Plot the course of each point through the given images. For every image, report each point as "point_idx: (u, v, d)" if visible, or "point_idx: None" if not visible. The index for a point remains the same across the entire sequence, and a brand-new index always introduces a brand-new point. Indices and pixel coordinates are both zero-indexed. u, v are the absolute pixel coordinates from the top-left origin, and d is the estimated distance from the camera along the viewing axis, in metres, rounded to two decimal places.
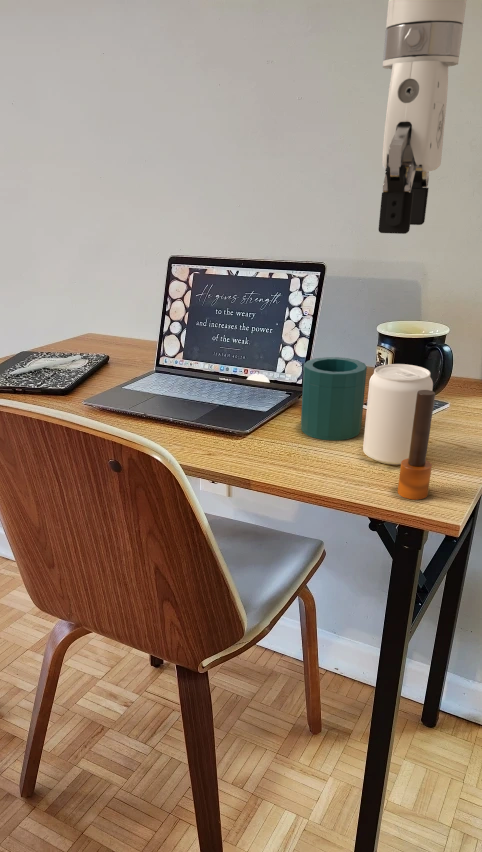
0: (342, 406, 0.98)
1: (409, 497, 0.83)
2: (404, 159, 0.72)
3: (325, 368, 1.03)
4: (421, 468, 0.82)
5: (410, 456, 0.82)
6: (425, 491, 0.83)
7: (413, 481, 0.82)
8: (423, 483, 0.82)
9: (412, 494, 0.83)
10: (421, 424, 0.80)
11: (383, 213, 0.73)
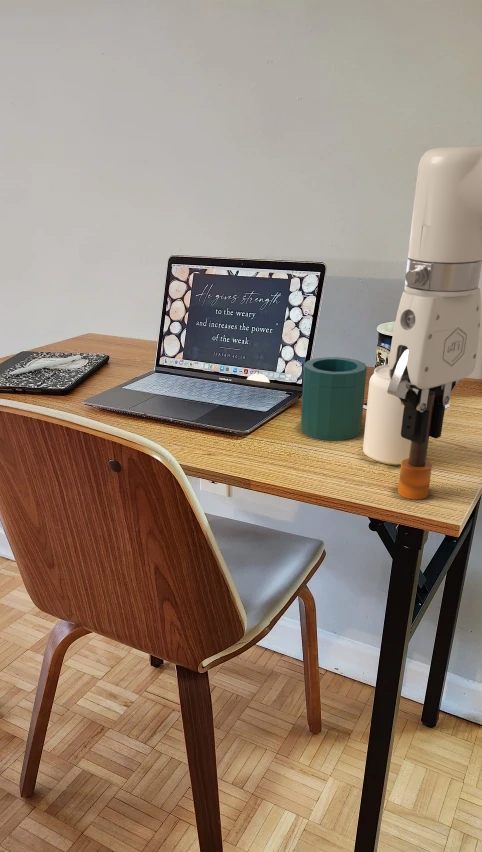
0: (342, 406, 0.98)
1: (409, 497, 0.83)
2: None
3: (325, 368, 1.03)
4: (421, 468, 0.82)
5: (410, 456, 0.82)
6: (425, 491, 0.83)
7: (413, 481, 0.82)
8: (423, 483, 0.82)
9: (412, 494, 0.83)
10: None
11: None
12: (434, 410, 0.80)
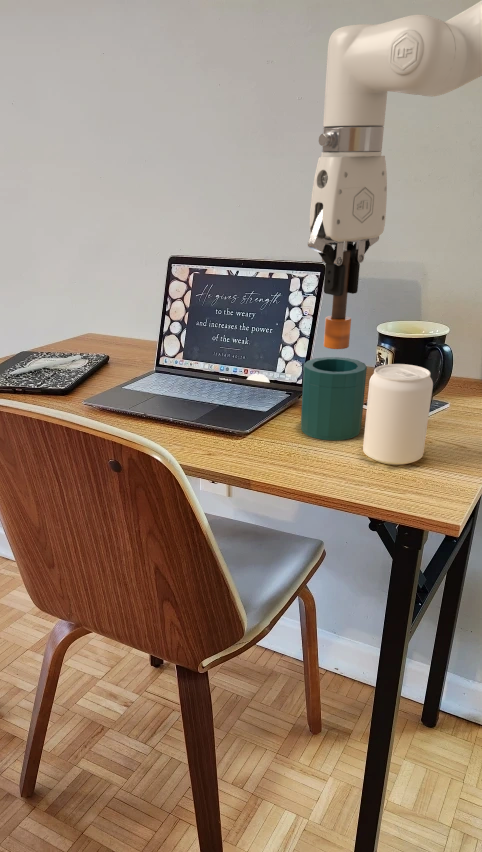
0: (342, 406, 0.98)
1: (332, 347, 0.97)
2: None
3: (325, 368, 1.03)
4: (341, 320, 0.96)
5: (332, 310, 0.96)
6: (346, 342, 0.97)
7: (334, 332, 0.96)
8: (343, 333, 0.96)
9: (334, 344, 0.97)
10: None
11: None
12: (351, 267, 0.94)
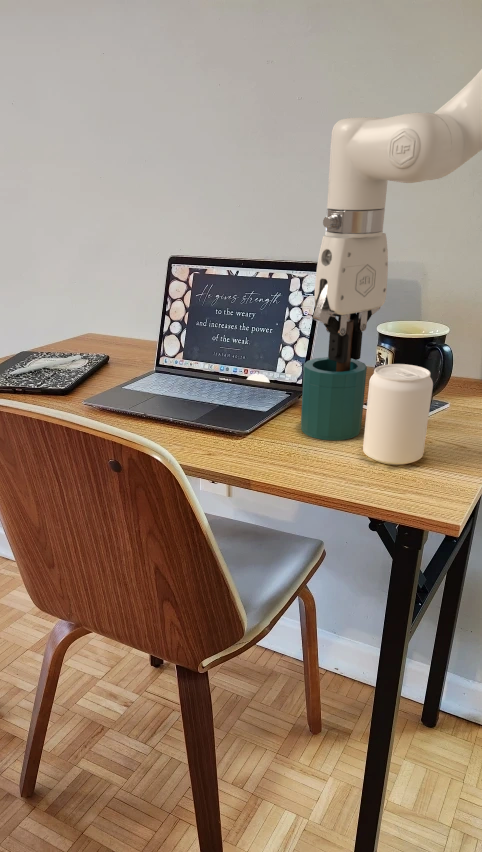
0: (342, 406, 0.98)
1: None
2: None
3: (325, 368, 1.03)
4: None
5: None
6: None
7: None
8: None
9: None
10: None
11: None
12: (354, 336, 0.98)
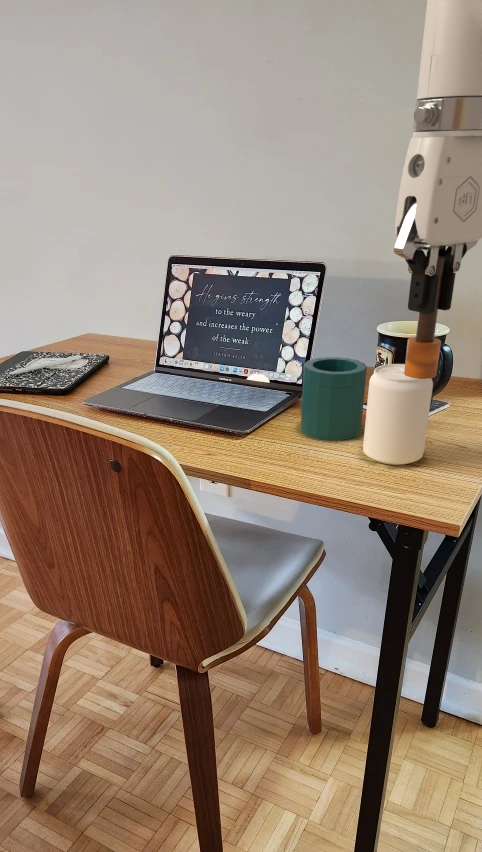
0: (342, 406, 0.98)
1: (416, 376, 0.78)
2: None
3: (325, 368, 1.03)
4: (429, 343, 0.77)
5: (418, 331, 0.77)
6: (434, 370, 0.78)
7: (420, 358, 0.77)
8: (431, 360, 0.77)
9: (420, 373, 0.78)
10: None
11: None
12: (444, 278, 0.75)
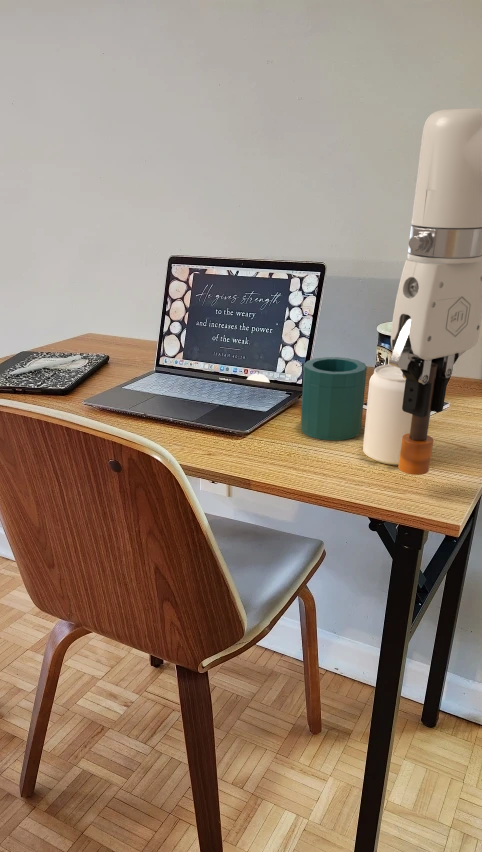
0: (342, 406, 0.98)
1: (410, 472, 0.82)
2: None
3: (325, 368, 1.03)
4: (422, 442, 0.80)
5: (411, 430, 0.81)
6: (426, 466, 0.82)
7: (414, 456, 0.81)
8: (424, 458, 0.81)
9: (413, 469, 0.82)
10: None
11: (406, 395, 0.79)
12: (436, 383, 0.79)
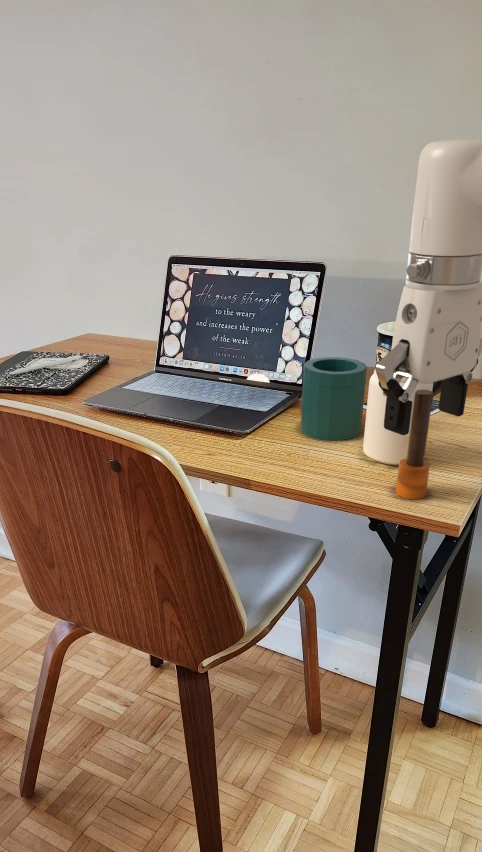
0: (342, 406, 0.98)
1: (407, 497, 0.84)
2: None
3: (325, 368, 1.03)
4: (419, 468, 0.82)
5: (408, 456, 0.82)
6: (423, 491, 0.83)
7: (411, 481, 0.82)
8: (421, 483, 0.83)
9: (410, 494, 0.83)
10: (419, 424, 0.80)
11: None
12: (457, 388, 0.81)
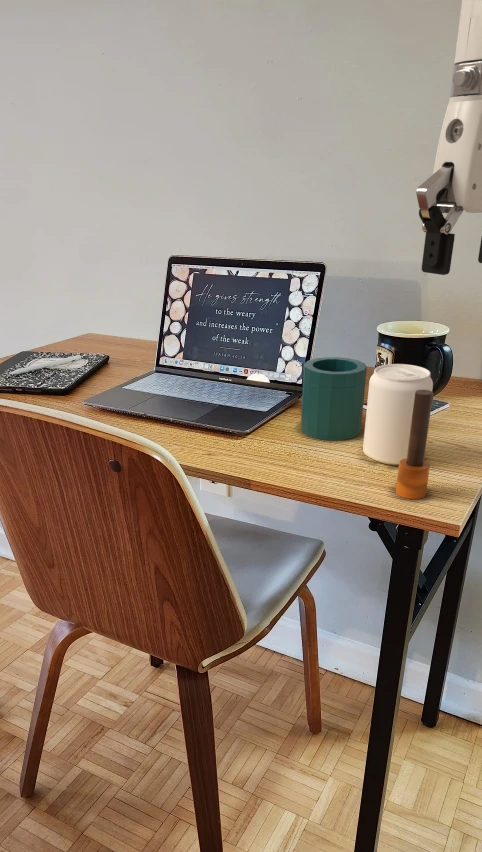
0: (342, 406, 0.98)
1: (407, 497, 0.84)
2: (455, 199, 0.70)
3: (325, 368, 1.03)
4: (419, 468, 0.82)
5: (408, 456, 0.82)
6: (423, 491, 0.83)
7: (411, 481, 0.82)
8: (421, 483, 0.83)
9: (410, 494, 0.83)
10: (419, 424, 0.80)
11: None
12: None
